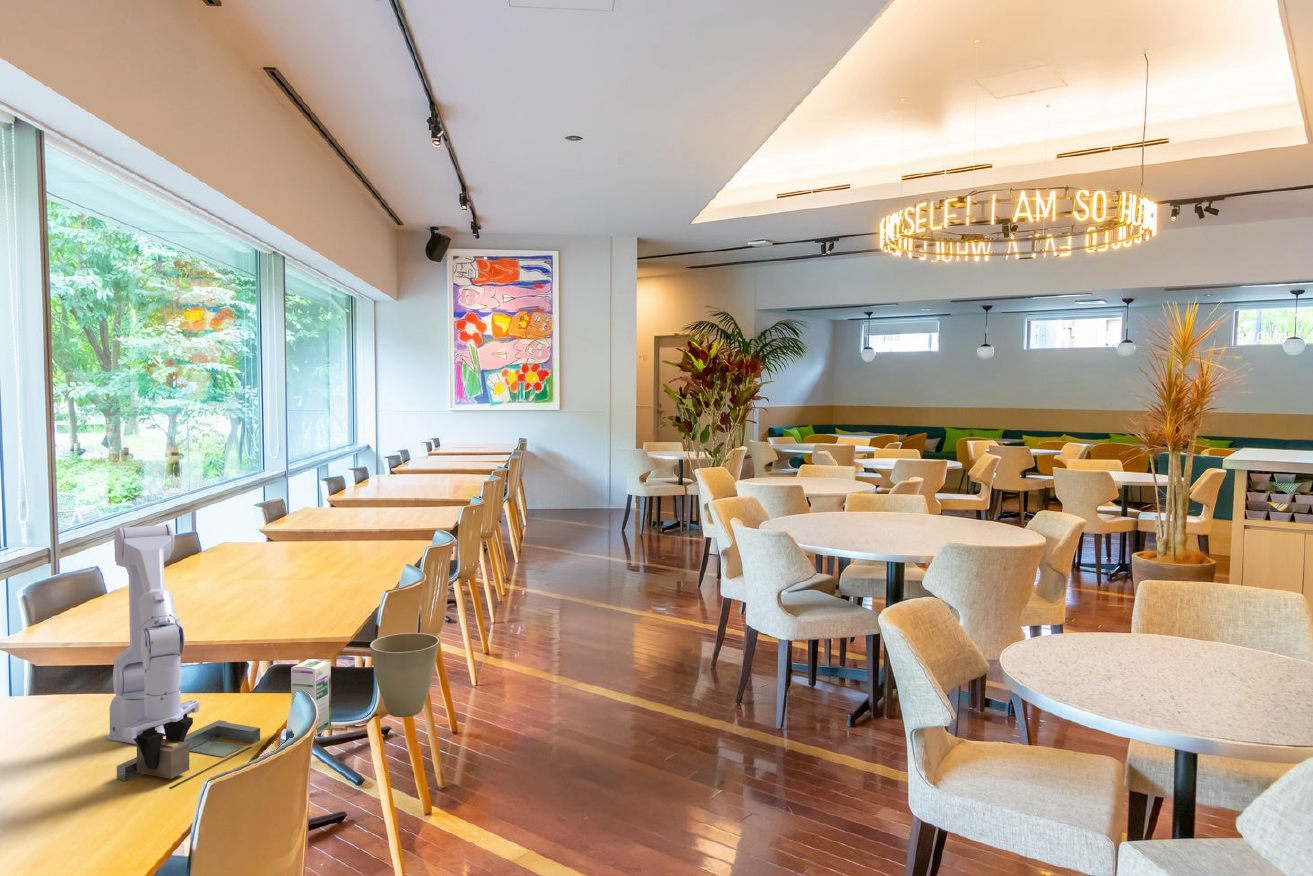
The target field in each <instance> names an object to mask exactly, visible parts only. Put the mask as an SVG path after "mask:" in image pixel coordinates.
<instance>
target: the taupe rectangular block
mask: <svg viewBox="0 0 1313 876" xmlns="http://www.w3.org/2000/svg"><path fill="white" fill-rule="evenodd" d="M136 757H137V772H138V773H141V774H144V775H150V776H155V777H159V778H165V779H170V780H171V779H173V778H176V777H178V776H180V775H181V774H184V773H185V772H188V771H190V751H189V743H185V742H179V741H173V740H168V739H166V738H163V739H162V742H161V746H160V752H159V765H158V768H157V769H149V768H146V764H145V761H144V758H143V755H142V753H141V750H140V748H139V747H138V745H137V744H136Z"/></svg>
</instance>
